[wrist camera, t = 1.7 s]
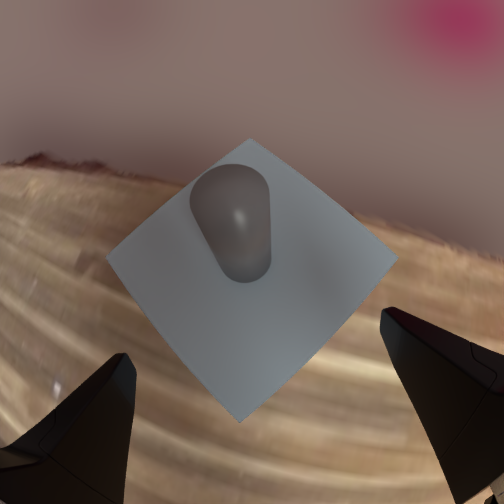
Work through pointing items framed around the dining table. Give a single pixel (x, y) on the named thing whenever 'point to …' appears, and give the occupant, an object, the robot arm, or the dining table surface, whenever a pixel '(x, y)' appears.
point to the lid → (249, 274)
